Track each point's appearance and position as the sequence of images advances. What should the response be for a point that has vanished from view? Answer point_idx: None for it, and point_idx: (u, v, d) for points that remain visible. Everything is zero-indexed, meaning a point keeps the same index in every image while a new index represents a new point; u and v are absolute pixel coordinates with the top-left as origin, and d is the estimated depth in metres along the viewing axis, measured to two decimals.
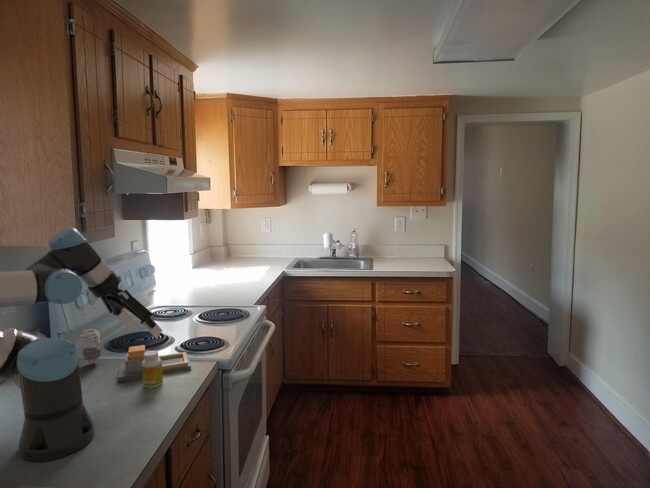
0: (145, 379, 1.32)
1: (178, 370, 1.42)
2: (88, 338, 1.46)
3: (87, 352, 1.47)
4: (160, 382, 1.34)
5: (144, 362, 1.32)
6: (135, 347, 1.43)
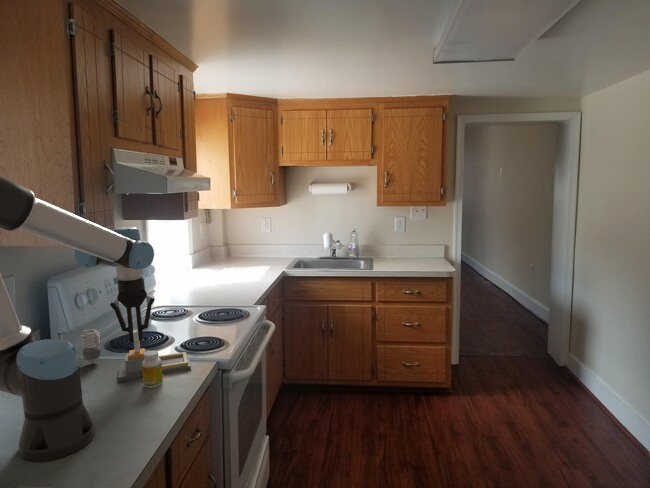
0: (145, 379, 1.32)
1: (178, 370, 1.42)
2: (88, 338, 1.46)
3: (87, 352, 1.47)
4: (160, 382, 1.34)
5: (144, 362, 1.32)
6: None
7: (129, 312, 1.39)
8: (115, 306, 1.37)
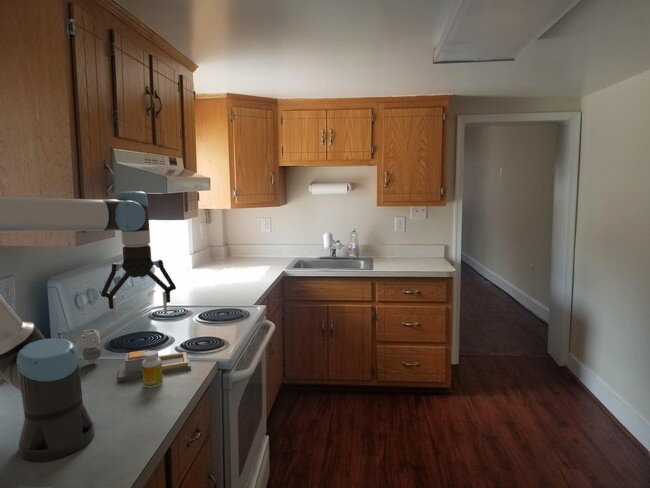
0: (145, 379, 1.32)
1: (178, 370, 1.42)
2: (88, 338, 1.46)
3: (87, 352, 1.47)
4: (160, 382, 1.34)
5: (144, 362, 1.32)
6: (135, 352, 1.43)
7: (124, 279, 1.30)
8: (115, 269, 1.28)
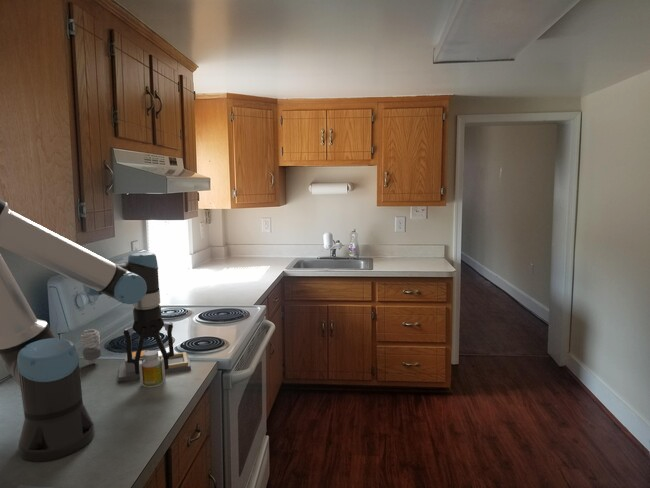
0: (145, 379, 1.32)
1: (178, 370, 1.42)
2: (88, 338, 1.46)
3: (87, 352, 1.47)
4: (160, 382, 1.34)
5: (144, 362, 1.32)
6: (135, 352, 1.43)
7: (141, 342, 1.31)
8: (128, 335, 1.29)
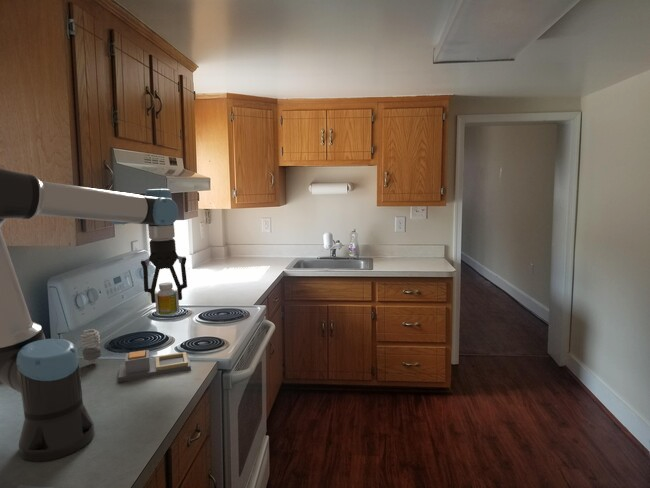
0: (160, 307, 1.41)
1: (178, 370, 1.42)
2: (88, 338, 1.46)
3: (87, 352, 1.47)
4: (174, 311, 1.43)
5: (159, 292, 1.42)
6: (135, 352, 1.43)
7: (157, 273, 1.40)
8: (145, 265, 1.39)
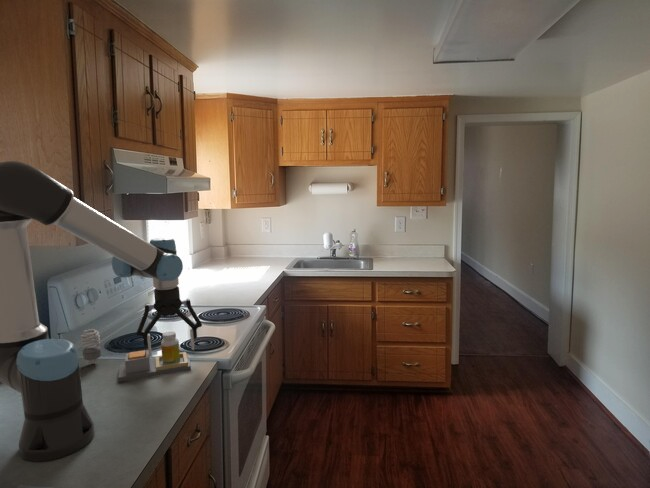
0: (164, 357, 1.44)
1: (178, 370, 1.42)
2: (88, 338, 1.46)
3: (87, 352, 1.47)
4: (178, 360, 1.46)
5: (163, 342, 1.44)
6: (135, 352, 1.43)
7: (156, 319, 1.42)
8: (147, 310, 1.41)
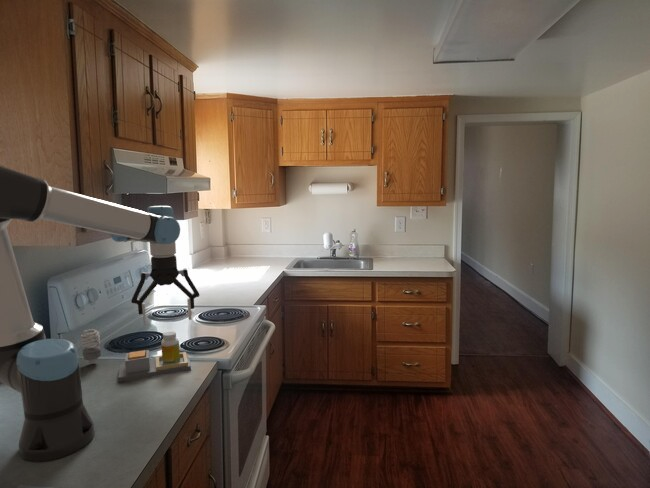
0: (164, 357, 1.44)
1: (178, 370, 1.42)
2: (88, 338, 1.46)
3: (87, 352, 1.47)
4: (178, 360, 1.46)
5: (163, 341, 1.44)
6: (135, 352, 1.43)
7: (152, 287, 1.40)
8: (144, 278, 1.39)
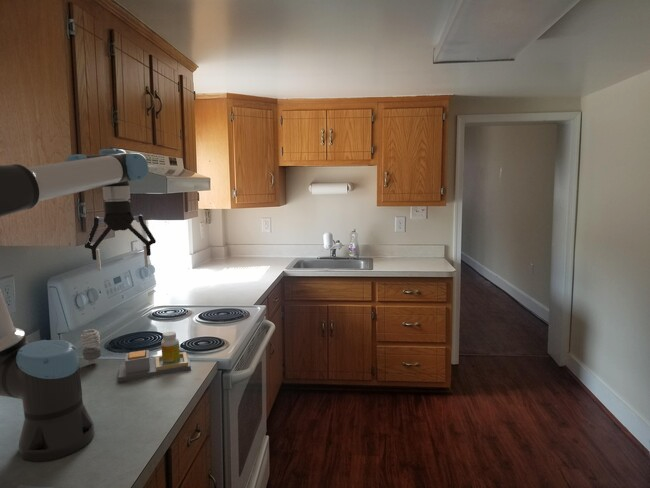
0: (164, 357, 1.44)
1: (178, 370, 1.42)
2: (88, 338, 1.46)
3: (87, 352, 1.47)
4: (178, 360, 1.46)
5: (163, 342, 1.44)
6: (135, 352, 1.43)
7: (106, 232, 1.39)
8: (97, 222, 1.37)
